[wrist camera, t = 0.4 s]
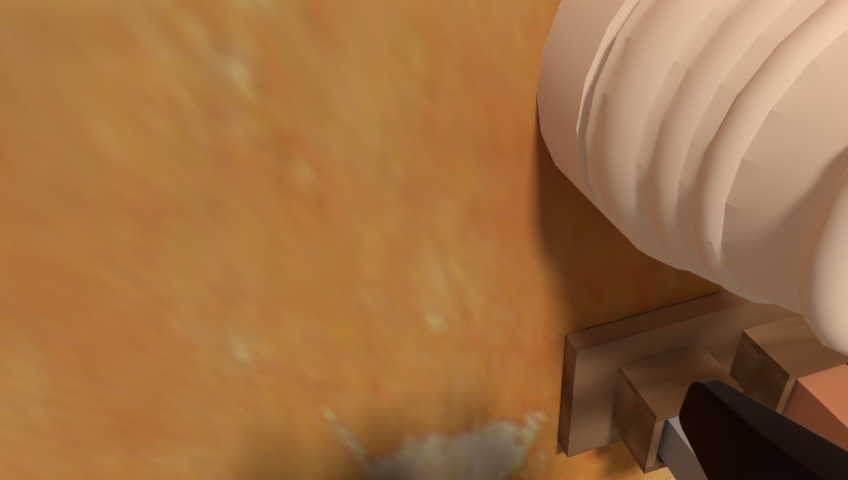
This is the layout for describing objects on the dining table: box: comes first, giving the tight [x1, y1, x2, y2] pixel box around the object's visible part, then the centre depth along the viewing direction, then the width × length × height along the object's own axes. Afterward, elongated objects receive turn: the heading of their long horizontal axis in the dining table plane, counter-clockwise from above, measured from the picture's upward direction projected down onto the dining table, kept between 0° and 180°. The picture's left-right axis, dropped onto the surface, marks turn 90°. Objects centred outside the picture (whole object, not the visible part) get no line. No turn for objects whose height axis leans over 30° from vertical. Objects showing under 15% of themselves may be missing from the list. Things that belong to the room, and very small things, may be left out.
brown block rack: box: [558, 290, 848, 474], centre depth 33 cm, size 9×25×5 cm, turn 96°
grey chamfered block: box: [657, 416, 708, 480], centre depth 30 cm, size 3×3×5 cm
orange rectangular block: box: [781, 364, 848, 451], centre depth 31 cm, size 3×3×5 cm
